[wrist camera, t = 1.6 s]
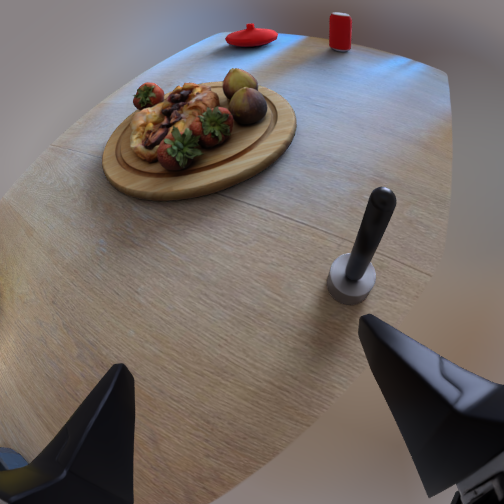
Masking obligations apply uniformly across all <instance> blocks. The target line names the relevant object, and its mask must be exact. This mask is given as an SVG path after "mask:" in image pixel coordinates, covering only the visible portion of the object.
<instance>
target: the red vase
mask: <svg viewBox="0 0 504 504" xmlns="http://www.w3.org/2000/svg"><path fill="white" fill-rule="evenodd" d="M277 36H278V34H277V33H276V32H275V31H273V30H270V29H259V28H255V27H254V24H247V29H244V30H240V31H237V32H233V33H231V34H229V35H228V36H227V37H226V38H225V39H226V41H227V43H228V44H231V45H235V46H239V47H253V46H261V45H265V44H268V43H270V42H272V41H274V40H276V39H277Z"/></svg>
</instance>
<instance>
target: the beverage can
mask: <svg viewBox="0 0 504 504" xmlns="http://www.w3.org/2000/svg"><path fill="white" fill-rule="evenodd" d="M329 32H330V34H329V35H330V36H329V46H330V47H331V48H332V49H334V50H336V51H340V52H346V51H349V50H350V49H351V33H352V19H351V17H350V16H349V15H348V14H344V13H332V14H331V16H330V31H329Z"/></svg>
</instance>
